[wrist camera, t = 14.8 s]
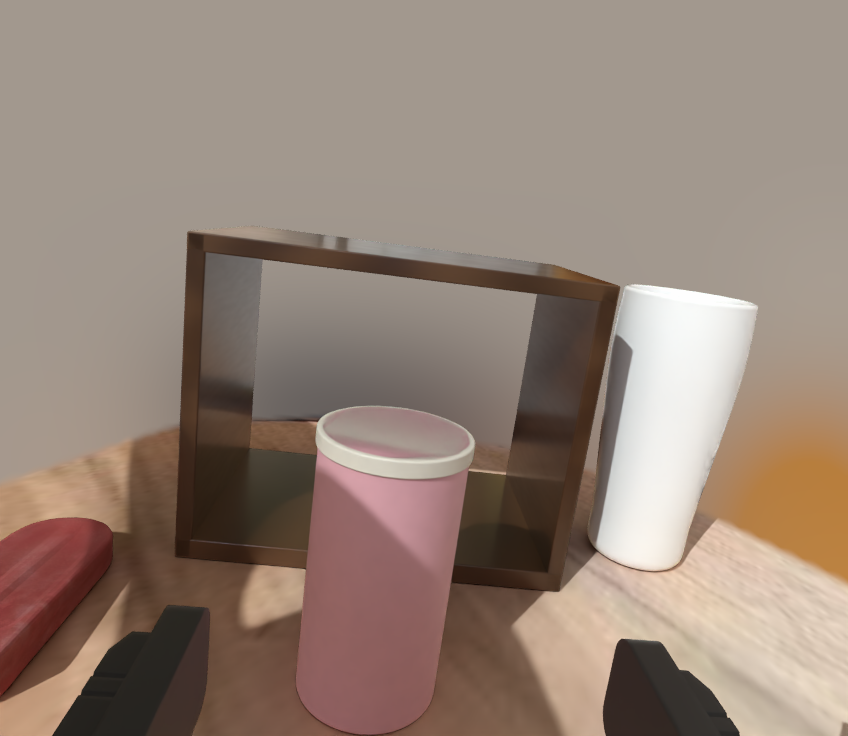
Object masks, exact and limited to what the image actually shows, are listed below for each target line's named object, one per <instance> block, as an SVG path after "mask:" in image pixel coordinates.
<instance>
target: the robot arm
mask: <svg viewBox="0 0 848 736" xmlns="http://www.w3.org/2000/svg"><path fill="white" fill-rule="evenodd" d="M209 628H210V611H209V608H204V607H190V606H176V605H168V606H167V607H166V608H165V609H164V611H163V613H162V615H161V616H160V618H159V620H158V621H157V623H156V625H155V627H154V628H153V630H152V632H151V633H148V632H133V631H132V632H131V633H130V634H128V635H127V636H126V637H124V638H123V639H122V640H121V641H119V642H118V643H117V644H115V645H114V646H113V647H111V648H110V649H109V650H108V651H107V653H106V654H105V656H104V657H103V659H102V660H101V662H100V663H99V665H98V666H97V668H96V669H95V671H94V674H93V676H91V677H90V679H89V680H88V682H87V683H86V685H85V686H84V688H83V689H82V692H81V695H78V697H77V698H76V700H75V702H74V703H73V705H72V706H71V708H70V709H69V711H68V712H67V714H66V715H65V717H64V718H63V720H62V721H61V723H60V724H59V726H58V728H57V729H56V731H55V732H54V734H53V735H52V736H191V735H192V733H193V730H194V727H195V725H196V722H197V720H198V717H199V714H200V711H201V708H202V704H203V700H204V695H205V690H206V684H207V671H208V650H209ZM603 722H604V730H605V734H606V736H740V735H739V731H738V729H737V728H736V726H735V725H734V723H733V722H732V720H731V719H730V718H727V713H726V712H725V710H724V709H723V707H722V706H721V704H720V703H719V701H718V700H717V698H716V697H715V695H714V694H713V693H712V691H711V690H710V689H709V688H707V687H706V686H705V685H704V684H703V683H702V682H700V681H699V680H698V679H697V678H696V677H695V676H694V675H692V674H691V673H690V672H689V671H684V670H679V669H678V667H677V666H676V664H675V662H674V661H673V659H672V658H671V656H670V655H669V653H668V652H667V650H666V648H665V647H664V646H663V644H662V643H661V642H659V641H646V640H632V639H621V640H620V641H619V642H618V643H617V646H616V649H615V654H614V659H613V663H612V668H611V672H610V677H609V682H608V686H607V691H606V696H605V700H604V706H603Z"/></svg>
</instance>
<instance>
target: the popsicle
mask: <svg viewBox="0 0 848 736" xmlns="http://www.w3.org/2000/svg"><path fill="white" fill-rule="evenodd" d="M112 557H113V533H112V531H111V530H110V528H109V527H108V526H107V525H106V524H104V523H102V522H99V521H96V520H93V519H86V518H56V519H49V520H45V521H40V522H36V523H33V524H30V525H28V526H25V527H23V528H21V529H19V530H17V531H16V532H14V533H12V534H10V535H9V536H8V537H6V538H5V539H3V540H2V541H0V696H1V695H2V694H3V693H4V692H5V691H6V690H7V688H8V687H9V686H10V685H11V684H12V682H13V681H14V680H15V679H16V678H17V676H18V675H19V674H20V673H21V672H22V670H23V669H24V668H25V667H26V666H27V664H28V663H29V662H30V661H31V660H32V658H33V657H34V656H35V655H36V654H37V652H38V651H39V650H40V649H41V648H42V646H43V645H44V644H45V643H46V642H47V641H48V639H49V638H50V637H51V636H52V635H53V633H54V632H55V631H56V630H57V629H58V628H59V626H60V625H61V624H62V623H63V622H64V620H65V619H66V618H67V617H68V616H69V614H70V613H71V612H72V611H73V610H74V609H75V607H76V606H77V605H78V604H79V603H80V601H81V600H82V599H83V598H84V597H85V595H86V594H87V593H88V592H89V591H90V590H91V588H92V587H93V586H94V585H95V584H96V582H97V581H98V580H99V579H100V577H101V576H102V575H103V574H104V573H105V571H106V570H107V568H108V567H109V565H110V563H111V561H112Z"/></svg>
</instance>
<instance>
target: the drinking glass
mask: <svg viewBox="0 0 848 736" xmlns="http://www.w3.org/2000/svg"><path fill="white" fill-rule="evenodd" d="M757 312H758V306H757V305H756V304H754V303H750V302H747V301H743V300H738V299H733V298H728V297H723V296H718V295H712V294H706V293H700V292H694V291H687V290H680V289H672V288H665V287H657V286H647V285H634V284H630V285H626V286H625V288H624V292H623V296H622V300H621V304H620V308H619V312H618V316H617V320H616V325H615V329H614V334H613V339H612V344H611V350H610V356H609V363H608V370H607V378H606V387H605V396H604V406H603V415H602V424H601V434H600V442H599V451H598V460H597V468H596V477H595V485H594V493H593V501H592V507H591V511H590V516H589V521H588V527H587V533H588V537H589V540H590V542H591V544H592V545H593V546H594V547H595V548H596V549H597V550H598V551H599V552H600V553H601V554H603V555H604V556H606V557H607V558H609V559H611V560H613V561H615V562H617V563H619V564H622V565H625V566H627V567H631V568H635V569H639V570H646V571H662V570H667V569H670V568H672V567H674V566H675V565H677V564H678V563H679V561H680V560H681V558H682V556H683V553H684V549H685V545H686V541H687V537H688V533H689V529H690V526H691V523H692V520H693V518H694V515H695V512H696V509H697V506H698V503H699V500H700V497H701V494H702V492H703V489H704V486H705V483H706V480H707V478H708V475H709V472H710V469H711V466H712V464H713V461H714V458H715V455H716V452H717V450H718V447H719V444H720V441H721V438H722V435H723V433H724V430H725V427H726V425H727V422H728V419H729V416H730V414H731V411H732V408H733V405H734V402H735V399H736V396H737V394H738V390H739V387H740V384H741V381H742V378H743V374H744V370H745V367H746V363H747V359H748V355H749V351H750V347H751V342H752V338H753V333H754V327H755V323H756V317H757Z"/></svg>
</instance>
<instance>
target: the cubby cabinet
mask: <svg viewBox="0 0 848 736" xmlns="http://www.w3.org/2000/svg"><path fill="white" fill-rule="evenodd" d="M262 259H264V260H272V261H280V262H288V263H296V264H303V265H312V266H319V267H327V268H336V269H343V270H351V271H359V272H367V273H375V274H383V275H391V276H399V277H407V278H415V279H423V280H431V281H438V282H446V283H454V284H462V285H471V286H478V287H487V288H494V289H503V290H510V291H518V292H527V293H534V294H537V298H536V304H535V310H534V315H533V321H532V327H531V333H530V339H529V345H528V351H527V357H526V362H525V368H524V374H523V380H522V386H521V391H520V397H519V403H518V409H517V415H516V421H515V427H514V432H513V438H512V444H511V450H510V455H509V461H508V467H507V473H506V475H501V474H491V473H482V472H472V471H468V476H467V482H466V489H465V495H464V502H463V508H462V514H461V521H460V527H459V534H458V540H457V546H456V553H455V559H454V566H453V572H452V578H451V582H460V583H471V584H482V585H493V586H504V587H515V588H525V589H536V590H547V591H559V588H560V583H561V578H562V573H563V568H564V564H565V559H566V554H567V549H568V544H569V539H570V534H571V529H572V524H573V519H574V514H575V509H576V504H577V499H578V494H579V489H580V484H581V479H582V474H583V469H584V465H585V459H586V454H587V450H588V445H589V439H590V435H591V430H592V425H593V420H594V414H595V410H596V405H597V400H598V395H599V390H600V385H601V380H602V375H603V370H604V366H605V361H606V355H607V351H608V346H609V341H610V336H611V331H612V326H613V321H614V315H615V311H616V306H617V301H618V296H619V291H620V286H618V285H615V284H612V283H608V282H605V281H602V280H599V279H596V278H593V277H590V276H587V275H584V274H581V273H578V272H574V271H571V270H568V269H565V268H562V267H559V266H556V265H551V264H543V263H536V262H528V261H520V260H512V259H504V258H497V257H489V256H482V255H473V254H466V253H458V252H451V251H442V250H435V249H427V248H420V247H412V246H404V245H397V244H389V243H381V242H373V241H365V240H358V239H349V238H343V237H335V236H327V235H320V234H312V233H304V232H296V231H289V230H281V229H273V228H265V227H258V226H244V227H232V228H219V229H206V230H194V231H188V232H187V261H186V287H185V311H184V337H183V362H182V386H181V410H180V411H181V412H180V435H179V460H178V485H177V510H176V535H175V556H177V557H188V558H199V559H209V560H220V561H231V562H242V563H253V564H264V565H275V566H286V567H297V568H306V565H307V555H308V544H309V534H310V523H311V513H312V502H313V492H314V481H315V471H316V460H317V455H310V454H300V453H291V452H281V451H272V450H262V449H252V448H250V435H251V420H252V405H253V391H254V389H253V388H254V376H255V361H256V347H257V332H258V317H259V303H260V302H259V301H260V287H261V273H262Z"/></svg>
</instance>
